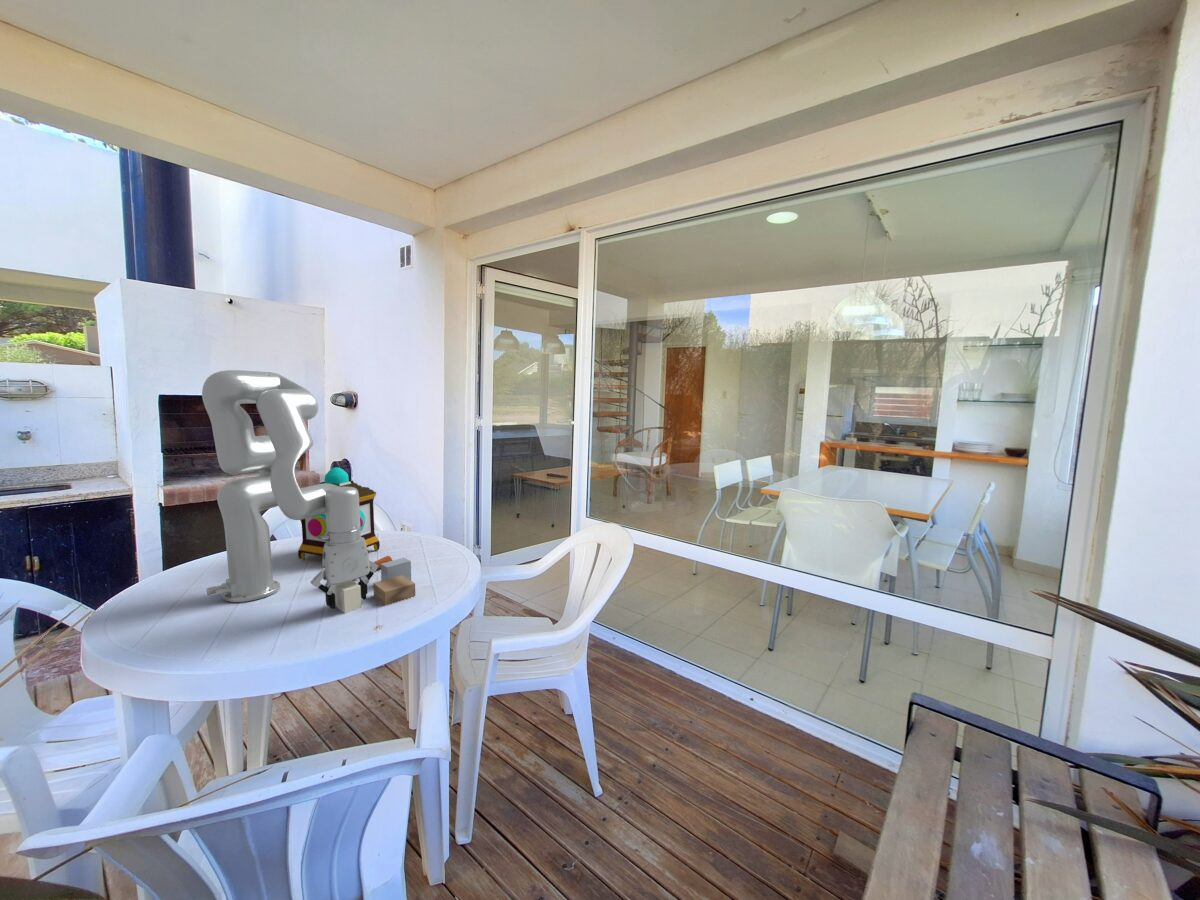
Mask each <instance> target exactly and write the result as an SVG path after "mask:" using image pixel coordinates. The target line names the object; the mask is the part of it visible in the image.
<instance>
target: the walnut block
mask: <svg viewBox="0 0 1200 900" xmlns="http://www.w3.org/2000/svg"><path fill="white" fill-rule="evenodd" d="M372 584H373V585H372V586H373V596H375V597H374V598H375V599H377V600H378V601H379V602H380V601H381V602H380V603H382V604H383V605H384V606H385V605H386V606H389V605H392V603H393V604H395V602H396V603H398V601H399V602H402V601H401V600H403V601H405V600H404V599H406V600H409V599H412V598H411V597H413V598H415V597H414V596H416V583H415V582H414V581H412V579H411V580H409V579H408V578H406V577H405V576H403V575H401V576H398V577H394V578H390V579H386V580H382V581H381V580H379V581H376V582H373V583H372ZM408 598H409V599H408Z"/></svg>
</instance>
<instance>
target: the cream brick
mask: <svg viewBox="0 0 1200 900" xmlns="http://www.w3.org/2000/svg"><path fill="white" fill-rule="evenodd" d="M333 593H334V594H335V603H336V608H337V609H339V610H340V611H341V612H343V613H344V614H347V612H348V613H351V612H353V610H354V611H356V609H357V610H359V608H360V609H362V598H361V586H360V585H358V583H357V582H356V581H355V580H354V581H352V580H350V581H347V582H343V583H339V584H336V586H335V588H334V590H333ZM350 611H351V612H350Z"/></svg>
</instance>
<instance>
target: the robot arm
mask: <svg viewBox="0 0 1200 900" xmlns="http://www.w3.org/2000/svg"><path fill="white" fill-rule="evenodd" d="M201 397H202V402H203V405H204V408H205V410H206V412H207V416H208V417H209V420H210V423H211V427H212V434H213V441H214V444H215V445H214V446H215V452H216V457H217V460H218V461H217V462H218V465H219V467H220V469H221V470H222V471H223V472H224V473H227V474H231V475H239V474H240V475H241V474H246V473H253V472H258V475H256V476H249V477H248V476H247V477H244V478H243V477H242V478H239V479H235V480H231V481H228V482H227V483H225V484H223V485H222V486H220V488H219V490H218V492H217V495H216V500H217V504H218V508H219V511H220V513H221V518H222V521H223V528H224V535H225V536H224V537H225V547H226V560H227V570H228V571H227V572H228V578H226V579H225V582H223V583H221V585H220V584H219V585H217V586H210V587H206V595H207V596H212V595H215V597H216V596H221V595H222V599H223V600H224V601H225V602H228V601H229V602H231V603H245V601H246V602H251V601H255V600H260V599H263V598H266V597H268V596H271V595H273V594H275V593H277V592H278V591H279V590H280V588H281V583H280V582H279V581H278V580H276V579H274V576H273V563H272V562H273V561H272V549H271V548H272V547H271V535H270V526H269V524H268V522H267V521H266V519H265V518H264V517H263V516H262V514H261V512H262V511H265V510H269V509H272V508H276V507H278V508H279V509H280V511H281V512H282V513H283V515H284V516H285V517H286V518H288V519H290V520H292V521H301V520H302V519H306V518H309V517H312V516H315V515H319V514H323V513H326V527H327V531H326V534H325V535H323V536H321V541H327V542H326V543H325V545H324V550H323V556H322V562H321V570H320V571H319V572H318V573H317V574H316V575H315V576H314V577H313V578H312V580H310V584H311V585H312V586H313V587H315V588H316V589H318V590H319V591H321V592H323V593H325V605H326V606H327V607H329V608H331V610H335V609H336V608H337V607H336V603H335V594H334V593H333V590H334V588H335V586H336V584H339V583H343V582H347V581H350V580H354V579H356V580H357V579H359V581H358V583H357V584H358V585H360V586H361V600H365V599H366V600H367V595H368V584H369V583H370V580H371V579H372V577H373V576H374V573H376V571H377V569H379V568H378V565H377V564H375V563H373V562H374V561H372V560H370V558H369V552H368V547H367V546H366V542H365V539H364V538H363V537H361V531H360V510H359V493H358V490H357V489H356V488H354V487H340V486H336V485H333V484H328V483H323V484H320V483H319V484H315V485H314V484H313V485H310V486H309V485H308V486H305V487H301V488H300V486H299V484H298V481H297V479H296V473H295V472H296V465H297V462H298V460H299V459H300V457H302V455H304V454H305V453H307V452H309V450H310V449H312V447H313V446H314V440H313V438H312V436H311V434H310V431H309V428H308V426H307V424H306V422H305V421H309V420H312V419H313V418H315V417H316V415H317V413H318V411H319V405H318V401H317V398H316V397H315V395H314V394H312V393H311V392H310V391H309V390H307V388H305V387H304V386H301V385H299V384H298V383H296V382H294V381H292V380H290V379H289V378H287V377H285V376H284V375H281V374H280V373H279V374H278V373H276V372H270V371H257V370H244V369H243V370H240V369H239V370H238V369H237V370H236V369H235V370H233V369H229V370H220V371H217V372H214V373H212V374H210V375H209V376H208V377H207V378H206V379H205V381H204V383H203V385H202V391H201ZM242 404H256V405H255V406H256V409H257V411H258V415H259V417H260V418H261V421H262V423H263V426H264V428H265V430H266V432H267V435H257V436H256V434H255V430H254V424H253V420H252V418H251V417H250V415H249V414H248V413H247V411H246V410H245V408H243V407H242V406H241V405H242ZM322 580H324V581H326V582H325V583H324V584H323V583H321V581H322ZM354 581H355V580H354Z"/></svg>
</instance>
